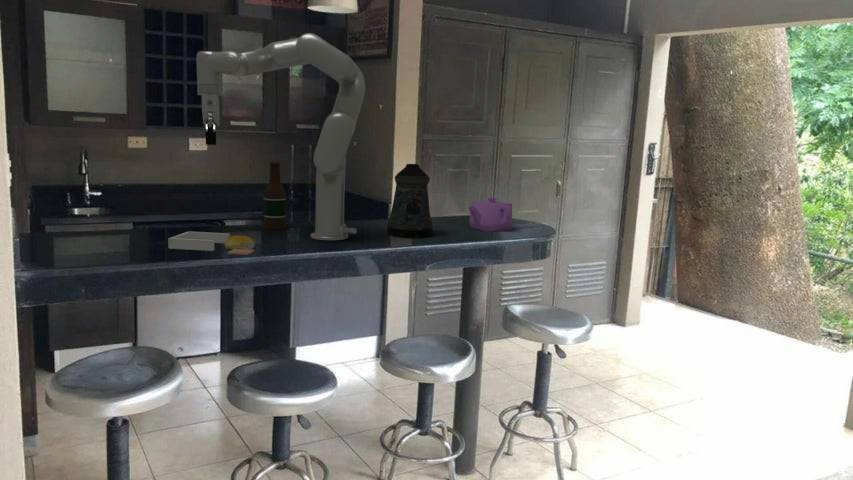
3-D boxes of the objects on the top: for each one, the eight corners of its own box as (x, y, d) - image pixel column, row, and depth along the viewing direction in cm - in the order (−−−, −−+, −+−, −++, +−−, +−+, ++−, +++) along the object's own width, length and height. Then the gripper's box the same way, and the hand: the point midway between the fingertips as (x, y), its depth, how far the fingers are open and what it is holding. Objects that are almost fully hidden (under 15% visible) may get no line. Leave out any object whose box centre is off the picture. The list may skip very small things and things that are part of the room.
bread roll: (238, 245, 218) (238, 232, 217) (259, 248, 213) (259, 235, 213) (217, 248, 211) (217, 235, 210) (238, 252, 206) (238, 238, 206)
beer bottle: (290, 228, 253) (290, 161, 249) (274, 231, 246) (275, 162, 242) (274, 226, 257) (274, 160, 253) (258, 228, 250) (258, 161, 246)
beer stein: (395, 239, 239) (397, 165, 235) (378, 230, 257) (379, 162, 253) (439, 237, 245) (442, 166, 241) (420, 229, 263) (422, 162, 259)
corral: (230, 243, 219) (229, 233, 219) (213, 250, 206) (213, 240, 205) (188, 240, 220) (187, 231, 220) (168, 248, 207) (168, 238, 206)
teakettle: (511, 233, 263) (512, 200, 261) (466, 230, 266) (467, 198, 264) (513, 227, 280) (515, 196, 278) (470, 224, 282) (472, 193, 280)
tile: (254, 251, 207) (254, 249, 207) (247, 255, 201) (247, 253, 201) (234, 250, 208) (234, 248, 208) (227, 254, 202) (227, 252, 202)
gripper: (221, 90, 219) (223, 145, 222) (221, 92, 236) (222, 143, 238) (196, 89, 217) (198, 145, 220) (198, 91, 233) (199, 143, 236)
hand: (211, 144), depth 229 cm, fingers open, 9 cm apart
